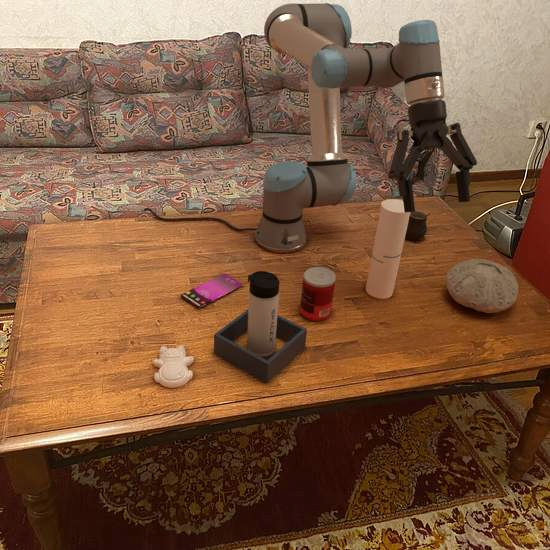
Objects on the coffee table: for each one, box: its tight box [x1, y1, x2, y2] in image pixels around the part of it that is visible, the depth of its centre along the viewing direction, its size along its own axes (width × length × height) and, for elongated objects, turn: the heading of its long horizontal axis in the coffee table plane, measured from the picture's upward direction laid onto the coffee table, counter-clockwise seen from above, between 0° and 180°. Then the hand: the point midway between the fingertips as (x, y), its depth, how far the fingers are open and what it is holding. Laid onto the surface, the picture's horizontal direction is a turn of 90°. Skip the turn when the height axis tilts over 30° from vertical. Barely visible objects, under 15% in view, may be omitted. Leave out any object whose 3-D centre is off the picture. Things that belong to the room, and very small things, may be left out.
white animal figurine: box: [152, 344, 195, 389], centre depth 118 cm, size 9×12×3 cm
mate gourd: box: [405, 210, 432, 242], centre depth 169 cm, size 7×8×10 cm
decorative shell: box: [445, 257, 520, 314], centre depth 143 cm, size 18×18×10 cm
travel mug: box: [246, 270, 280, 360], centre depth 119 cm, size 6×7×20 cm
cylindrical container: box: [365, 198, 410, 300], centre depth 140 cm, size 7×7×25 cm
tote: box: [213, 308, 308, 384], centre depth 123 cm, size 15×15×6 cm
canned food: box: [299, 266, 337, 322], centre depth 134 cm, size 8×8×11 cm
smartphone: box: [180, 273, 243, 309], centre depth 142 cm, size 7×15×1 cm, turn 137°
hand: (437, 207), depth 116 cm, fingers open, 13 cm apart
